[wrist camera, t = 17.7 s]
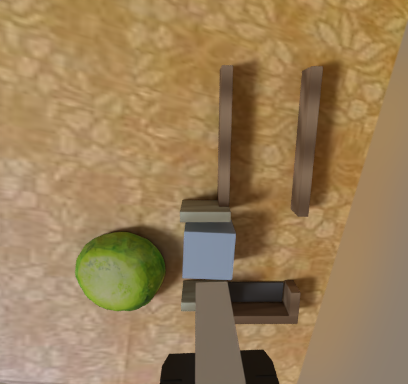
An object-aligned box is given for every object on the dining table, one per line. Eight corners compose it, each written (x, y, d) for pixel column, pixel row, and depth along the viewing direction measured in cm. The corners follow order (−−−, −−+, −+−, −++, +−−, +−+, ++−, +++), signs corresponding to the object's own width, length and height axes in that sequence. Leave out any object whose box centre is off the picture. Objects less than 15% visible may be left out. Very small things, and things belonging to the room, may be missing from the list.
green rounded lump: (177, 245, 39) (173, 262, 34) (149, 309, 41) (143, 334, 37) (96, 214, 38) (80, 228, 33) (72, 282, 40) (55, 304, 36)
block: (186, 217, 38) (184, 231, 33) (231, 219, 38) (235, 233, 33) (184, 258, 40) (182, 278, 35) (227, 260, 40) (231, 280, 35)
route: (181, 69, 34) (177, 61, 29) (312, 71, 34) (331, 62, 29) (183, 309, 41) (181, 335, 36) (290, 309, 42) (302, 334, 37)
